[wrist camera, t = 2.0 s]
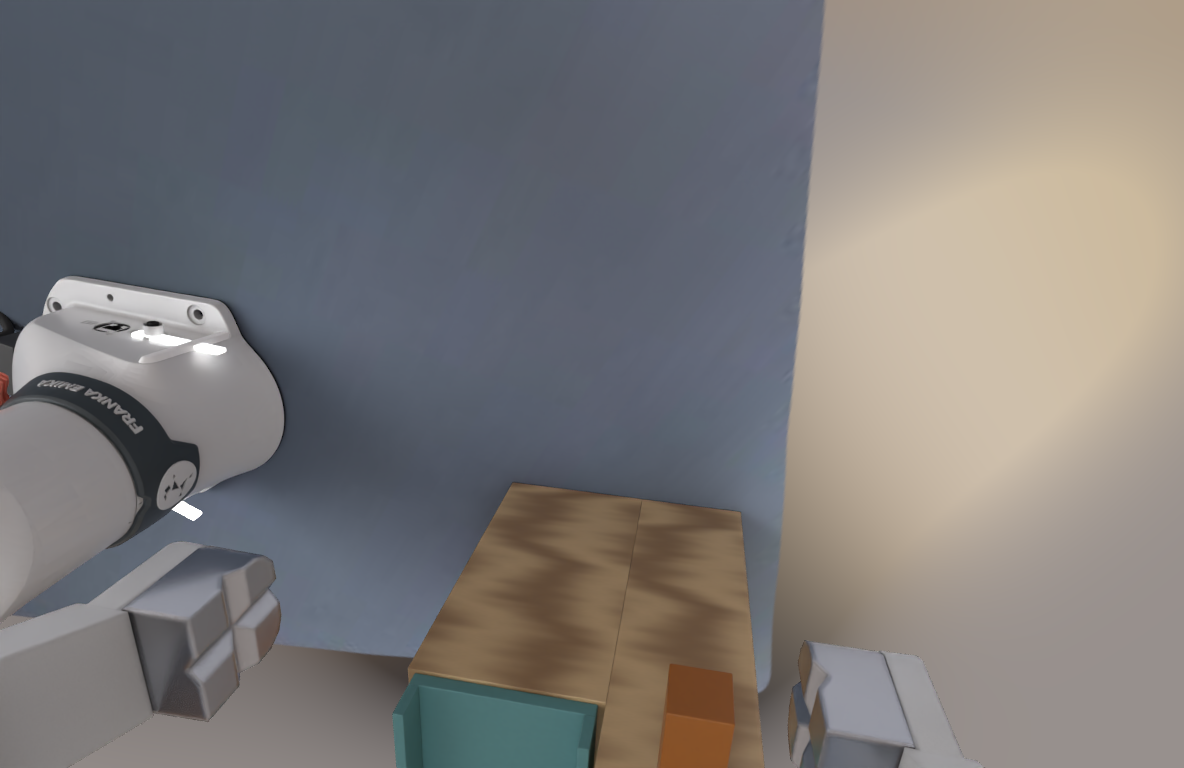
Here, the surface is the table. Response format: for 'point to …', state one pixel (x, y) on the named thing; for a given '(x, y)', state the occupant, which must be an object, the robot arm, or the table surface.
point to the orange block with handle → (697, 719)
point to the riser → (603, 612)
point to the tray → (490, 727)
